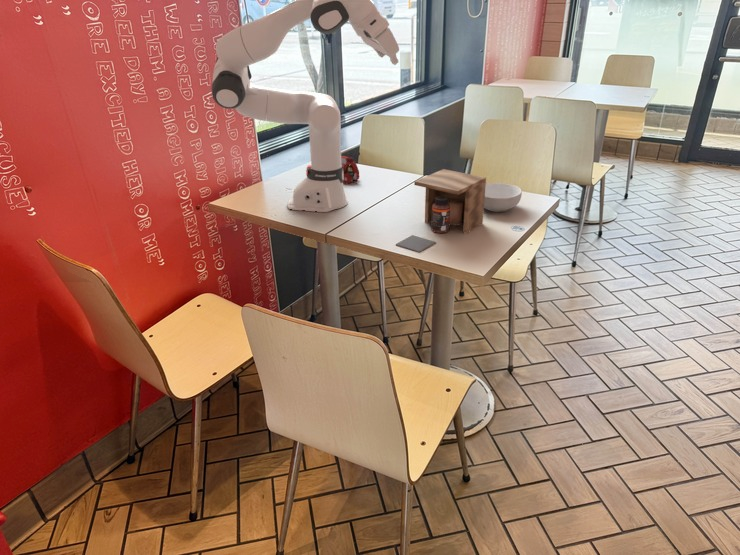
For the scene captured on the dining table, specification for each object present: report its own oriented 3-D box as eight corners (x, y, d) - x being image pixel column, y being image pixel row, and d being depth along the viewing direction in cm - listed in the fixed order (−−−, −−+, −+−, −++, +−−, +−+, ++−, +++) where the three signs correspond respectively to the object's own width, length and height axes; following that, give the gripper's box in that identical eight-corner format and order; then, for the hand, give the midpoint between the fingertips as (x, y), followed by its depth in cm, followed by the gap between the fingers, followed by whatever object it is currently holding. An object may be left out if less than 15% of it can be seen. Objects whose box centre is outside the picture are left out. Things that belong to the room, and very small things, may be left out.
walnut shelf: (455, 239, 172) (458, 191, 165) (413, 228, 182) (414, 181, 174) (482, 223, 184) (486, 177, 177) (441, 213, 193) (443, 169, 186)
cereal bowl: (470, 200, 205) (471, 182, 202) (514, 200, 205) (516, 182, 201) (476, 216, 190) (478, 197, 187) (524, 216, 189) (526, 197, 186)
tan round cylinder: (447, 225, 184) (448, 205, 180) (446, 219, 188) (447, 200, 185) (462, 225, 183) (463, 205, 180) (461, 219, 188) (462, 200, 184)
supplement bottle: (448, 234, 176) (450, 201, 171) (430, 233, 178) (431, 200, 172) (449, 227, 182) (451, 195, 176) (432, 226, 183) (433, 194, 178)
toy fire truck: (352, 185, 224) (351, 160, 220) (330, 180, 231) (329, 156, 227) (363, 181, 229) (362, 157, 224) (341, 176, 236) (340, 152, 231)
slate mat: (419, 252, 165) (419, 251, 164) (395, 245, 170) (395, 244, 169) (435, 242, 171) (435, 241, 170) (412, 236, 176) (412, 235, 176)
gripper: (345, 22, 169) (368, 58, 179) (372, 36, 154) (395, 74, 164) (361, 8, 169) (382, 45, 178) (389, 21, 154) (411, 60, 163)
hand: (389, 59), depth 171 cm, fingers open, 8 cm apart
